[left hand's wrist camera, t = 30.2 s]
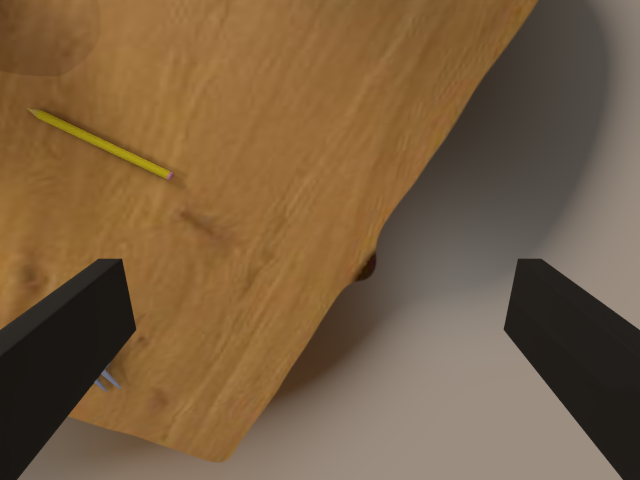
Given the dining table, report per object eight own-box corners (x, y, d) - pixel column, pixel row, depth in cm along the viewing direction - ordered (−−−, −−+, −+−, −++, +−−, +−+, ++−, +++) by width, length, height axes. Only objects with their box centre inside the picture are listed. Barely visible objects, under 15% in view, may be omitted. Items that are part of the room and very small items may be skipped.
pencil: (174, 171, 44) (170, 173, 43) (171, 179, 44) (168, 181, 43) (30, 103, 41) (23, 103, 40) (28, 111, 41) (21, 112, 40)
